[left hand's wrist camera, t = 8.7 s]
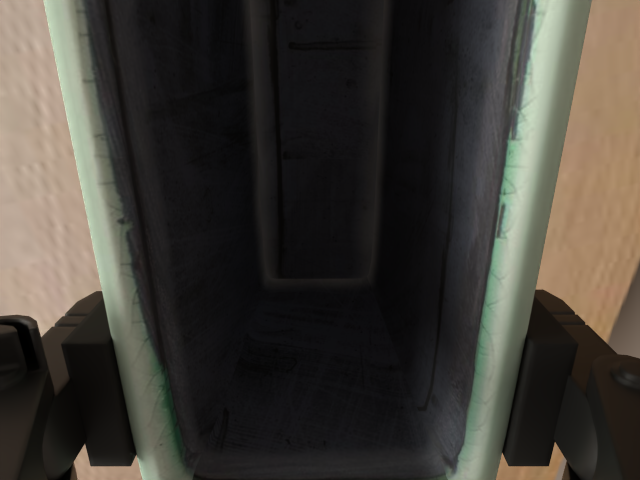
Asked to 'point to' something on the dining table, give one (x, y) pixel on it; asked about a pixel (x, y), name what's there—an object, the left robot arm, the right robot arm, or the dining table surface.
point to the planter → (318, 222)
